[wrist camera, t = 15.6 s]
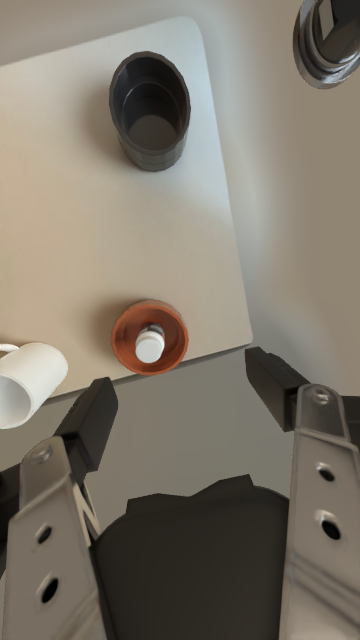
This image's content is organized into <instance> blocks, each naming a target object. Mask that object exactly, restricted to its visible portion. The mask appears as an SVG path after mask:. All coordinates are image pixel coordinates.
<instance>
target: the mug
mask: <svg viewBox="0 0 360 640" xmlns="http://www.w3.org/2000/svg"><path fill="white" fill-rule="evenodd" d="M0 351H4V352H7V353H8V354H7V355H5V356H4V357H2V358H0V429H5V428H13V427H17V426H19V425H21V424H23V423H25V422H26V421H27V420H28V419H29V418H30V417H31V416H32V415H33V414H34V413H35V412H36V410H37V409H38V408H39V407H40V406H41V405H42V404H43V402H44V401H45V400H46V399H47V398H48V397H49V396H50V394H51V393H52V392H53V391H54V390H55V389H56V388H57V386H58V385H59V384H60V383H61V382H62V381H63V380H64V378H65V377H66V375H67V371H68V365H67V361H66V359H65V357H64V355H63V354H62V353H61V352H60V351H59V350H58V349H56V348H55V347H53V346H51V345H49V344H46V343H41V342H32V343H28V344H25V345H23V346H21V347H20V348H18V347H17V346H14V345H11V344H0Z"/></svg>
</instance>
